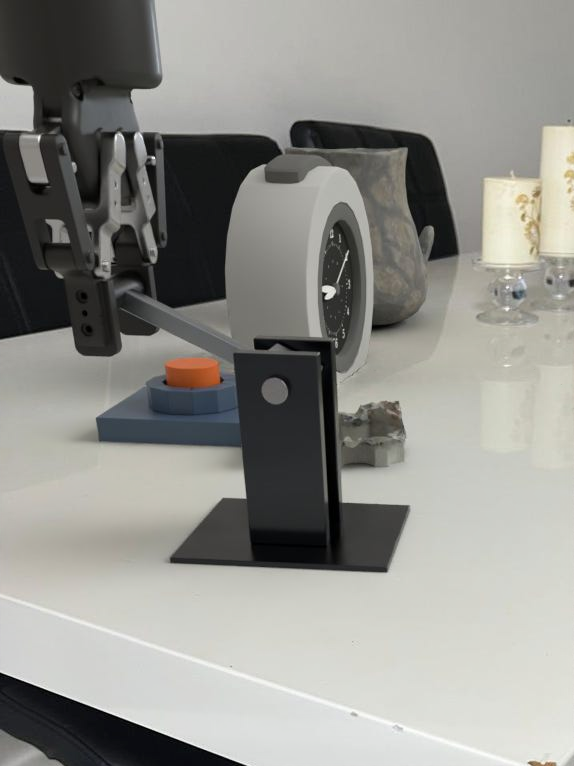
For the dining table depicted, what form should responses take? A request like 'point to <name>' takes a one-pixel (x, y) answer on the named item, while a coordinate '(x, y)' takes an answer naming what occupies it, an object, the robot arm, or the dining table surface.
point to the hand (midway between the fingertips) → (120, 342)
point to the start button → (192, 372)
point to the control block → (175, 415)
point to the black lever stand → (292, 473)
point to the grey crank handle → (173, 318)
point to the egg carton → (372, 435)
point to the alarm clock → (301, 258)
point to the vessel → (386, 228)
